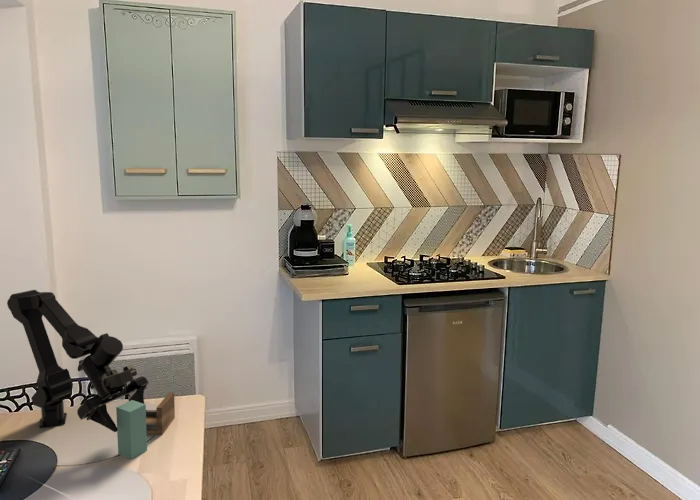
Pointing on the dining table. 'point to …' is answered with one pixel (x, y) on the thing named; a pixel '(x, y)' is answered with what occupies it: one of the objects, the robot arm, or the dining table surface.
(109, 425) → the robot arm
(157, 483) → the dining table surface
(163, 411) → the wall board cradle
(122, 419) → the teal block
